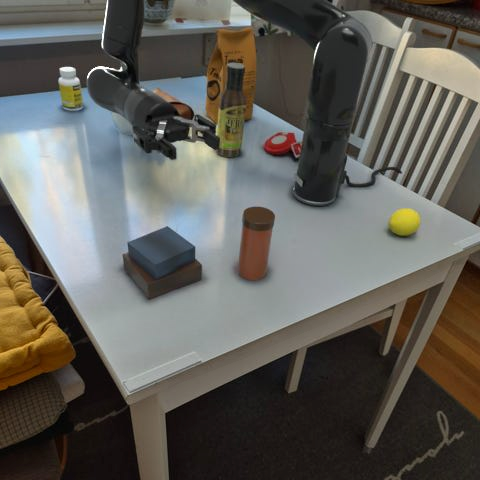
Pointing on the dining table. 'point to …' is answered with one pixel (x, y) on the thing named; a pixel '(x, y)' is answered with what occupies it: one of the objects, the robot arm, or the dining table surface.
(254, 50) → the coffee package
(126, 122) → the trinket box
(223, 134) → the sauce bottle
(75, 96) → the supplement bottle
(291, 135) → the tracker holder
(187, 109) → the sunglasses case
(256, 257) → the terracotta canister
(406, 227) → the lemon
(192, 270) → the block stack
